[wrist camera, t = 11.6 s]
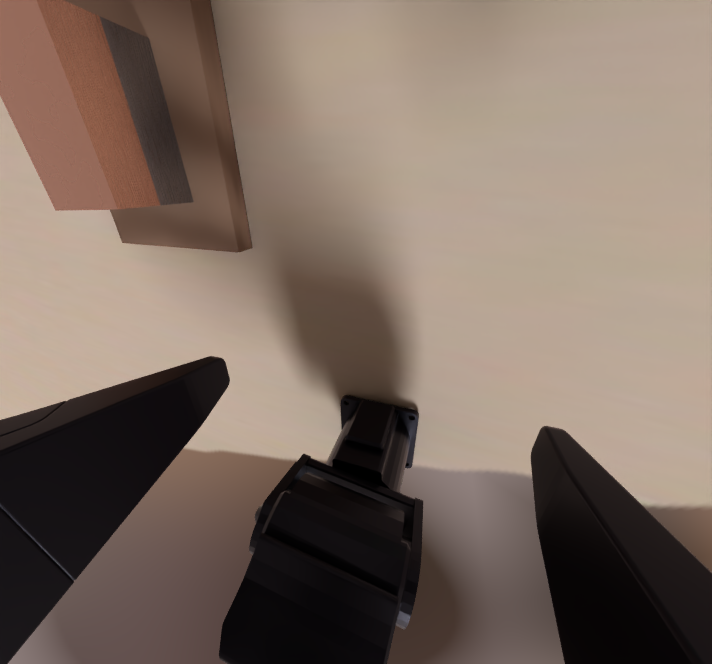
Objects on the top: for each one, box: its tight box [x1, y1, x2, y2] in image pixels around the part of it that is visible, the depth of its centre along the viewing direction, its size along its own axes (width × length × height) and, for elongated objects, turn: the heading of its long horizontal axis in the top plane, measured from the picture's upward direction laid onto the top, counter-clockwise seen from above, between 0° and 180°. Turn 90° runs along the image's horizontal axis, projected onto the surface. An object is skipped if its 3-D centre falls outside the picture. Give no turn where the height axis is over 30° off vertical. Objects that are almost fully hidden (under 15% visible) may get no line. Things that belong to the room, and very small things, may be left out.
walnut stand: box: [64, 0, 252, 252], centre depth 19 cm, size 14×11×2 cm
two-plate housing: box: [0, 0, 194, 210], centre depth 16 cm, size 5×8×5 cm, turn 3°
